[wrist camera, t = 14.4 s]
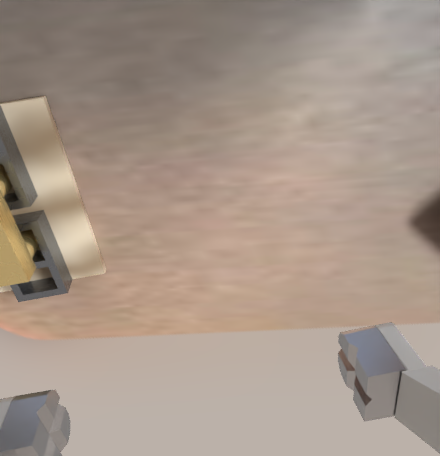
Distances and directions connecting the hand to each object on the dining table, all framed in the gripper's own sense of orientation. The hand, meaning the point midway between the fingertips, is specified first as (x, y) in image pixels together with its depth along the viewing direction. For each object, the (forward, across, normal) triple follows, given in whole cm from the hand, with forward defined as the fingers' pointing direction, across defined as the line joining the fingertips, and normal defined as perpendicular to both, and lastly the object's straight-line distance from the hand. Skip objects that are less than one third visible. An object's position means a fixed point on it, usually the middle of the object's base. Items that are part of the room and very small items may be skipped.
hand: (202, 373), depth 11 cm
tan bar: (+30, +18, +6) cm, 35 cm away
